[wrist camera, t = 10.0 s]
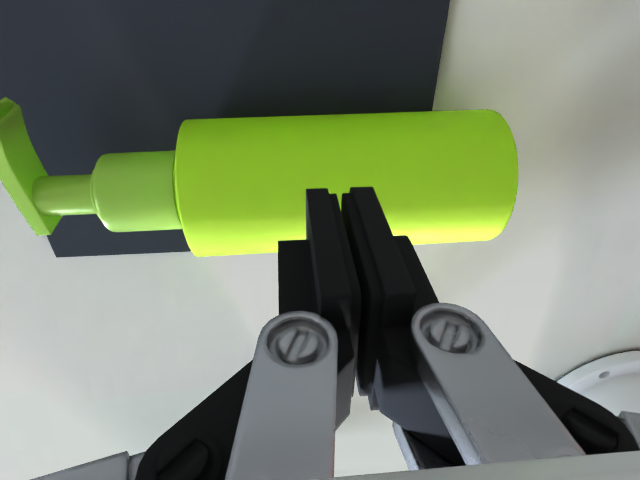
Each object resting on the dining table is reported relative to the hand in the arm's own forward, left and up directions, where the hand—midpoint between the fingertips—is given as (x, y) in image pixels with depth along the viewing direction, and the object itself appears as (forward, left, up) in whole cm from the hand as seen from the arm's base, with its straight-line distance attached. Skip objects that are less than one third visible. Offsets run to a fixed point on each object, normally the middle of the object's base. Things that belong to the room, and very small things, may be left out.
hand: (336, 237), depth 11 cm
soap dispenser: (-8, +2, -8) cm, 11 cm away
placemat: (+4, 0, -11) cm, 12 cm away
